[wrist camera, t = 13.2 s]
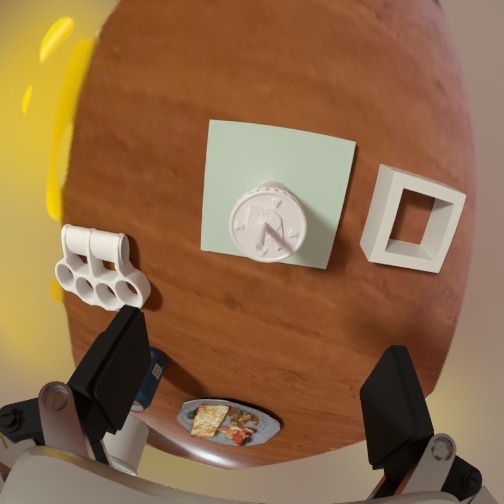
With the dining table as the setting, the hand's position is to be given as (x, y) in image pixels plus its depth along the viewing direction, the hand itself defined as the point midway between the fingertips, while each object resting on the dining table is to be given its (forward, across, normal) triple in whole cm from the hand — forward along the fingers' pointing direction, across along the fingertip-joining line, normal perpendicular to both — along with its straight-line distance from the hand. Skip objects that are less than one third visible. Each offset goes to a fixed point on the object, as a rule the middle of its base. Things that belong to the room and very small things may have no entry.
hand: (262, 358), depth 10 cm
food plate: (+24, +2, +55) cm, 60 cm away
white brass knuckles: (+25, +26, +16) cm, 39 cm away
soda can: (+24, +18, +34) cm, 45 cm away
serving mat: (+24, 0, +1) cm, 24 cm away
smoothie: (+24, +1, +1) cm, 24 cm away
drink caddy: (+24, -17, 0) cm, 29 cm away
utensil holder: (+24, +32, +74) cm, 84 cm away
